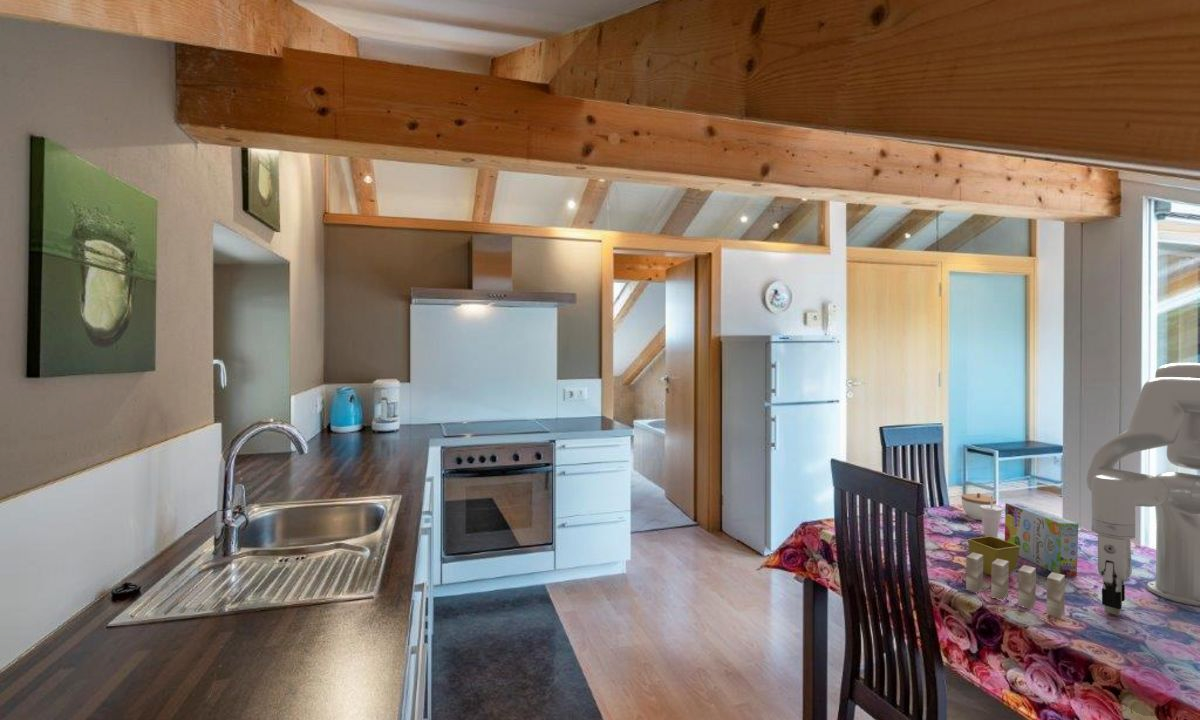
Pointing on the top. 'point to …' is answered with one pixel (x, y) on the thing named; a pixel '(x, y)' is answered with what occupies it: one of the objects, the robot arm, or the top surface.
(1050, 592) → the domino
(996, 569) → the domino
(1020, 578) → the domino
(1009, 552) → the flower pot
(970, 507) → the lidded jar
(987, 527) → the smoothie
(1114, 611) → the domino
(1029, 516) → the snack box
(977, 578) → the domino
